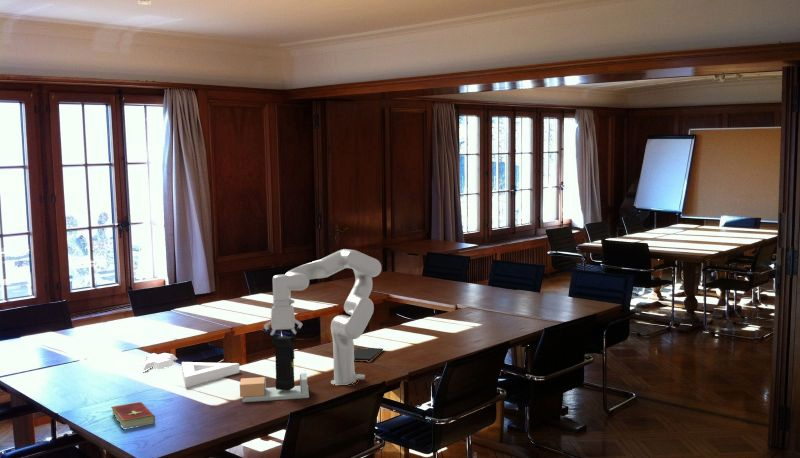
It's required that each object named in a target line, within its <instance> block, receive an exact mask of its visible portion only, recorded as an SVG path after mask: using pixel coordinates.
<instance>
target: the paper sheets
mask: <svg viewBox="0 0 800 458" xmlns="http://www.w3.org/2000/svg"><path fill="white" fill-rule="evenodd" d="M145 359H146V360H145ZM145 359H144V360H143V361H142V363H141V365H140V366H141V367H142V368H143V370H146V369H148V368H151V367H154V368H157V369H161V368H164V367H168V368H170V367H169V366H172V365H174V366H175V361H176V360H178V358H177V357H176V356H175V354H174V353H173V354H172V353H167V352H163V353H159V354H156V353H154V352H153V353H150V354H148V355H147V356H146V357H145ZM173 362H174V363H173ZM172 367H173V366H172Z"/></svg>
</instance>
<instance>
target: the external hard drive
mask: <svg viewBox="0 0 800 458" xmlns="http://www.w3.org/2000/svg"><path fill="white" fill-rule="evenodd" d="M360 348H361V347H360ZM360 348H359V347H358V348H356V349H354V360H368V361H370V360H371V359H373V358H374V357H375V356H376V355H377V354H379V353H380V352H381V351H382V350H383V349H384V348H381V347H380V348H379V347H378V348H377V347H376V348H375V347H367V348H368V349H360Z"/></svg>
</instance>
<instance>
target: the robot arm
mask: <svg viewBox="0 0 800 458" xmlns="http://www.w3.org/2000/svg"><path fill="white" fill-rule="evenodd" d="M344 269H352V271H353V273H354V278H355V281H354V284H353V285H352V286H353V287H352V289H351V290H350V292H349V294H348V296H347V297H346V300H345V302H344V304H343V310H344V311H345V313H346V314H348V315H345V314H340V315H339V314H338V315H336V316H334V318H332V320H331V323H330V334H331V337H332V350H333V351H332V353H333V355H332V356H333V379H334V380H333V379H331V381H330V383H331V384H332V385H334V384H335V385H334V386H338V385H348V384H350V383H352V382H353V383H354V382H356V380H358V381H359V380H365V379H366V375H365V374H362V373H358V374H357V373H356V372H355V362H354V351H355V345H354V344H355V343H354V340H357V339H359V338H360V337H361V336H362V334H363V333H364V331H365V330H366V327H367V326H368V324H369V322H370V320H371V318H372V315H373V314H374V310H375V308H374V307H375V306H374V302H373V301H372V299H370V298H369V297H370V295H371V292H372V290H373V284H374V283H373V278H375V277H377V276H379V275H380V274H381V273H382V264H381V262H380V260H378V259H377V258H374V257H372V256H369V255H368V254H365V253H362V252H360V251H358V250H356V249H349V248H348V249H347V248H343V249H340V250H337V251H335V252H333V253H331V254H329V255H327V256H325V257H323V258H321V259H317V260H314V261H312V262H308V263H305V264H302V265H299V266H297V267H294V268H292V269H290V270H288V271H287V272H286V273H285V274H276V275H273V277H272V296H273V297H272V298H273V306H271V311H270V313H271V315H270V320H269V321H268V322H266V323H265V324H264V325H263V328H264V330H265V331H266V332H267V333H268V334H269V335H270V337H271V339H270V340H271V343H272V345H274V346H275V338H276V337H275V333H276V332H277V331H281V330H283V331H284V330H291V332H292V337H293V344H296V343H295V342H296V341H297V333H298V332H299V331H300V329H301V328H302V326H303V323H302V322H301V321H299V320H297V319H296V317H295V310H294V309H295V308H294V306H293V304H295V299H292V295H291V293H292V291H300V292H301V291H304V290H306V289H307V288H308V287H309V285H310V280H315V279H324V278H329V277H330V276H332V275H334V274H336V273H338V272H340V271H342V270H344ZM349 315H350V316H349ZM295 324H296V325H297V327H296V325H295ZM270 325H271V326H270ZM269 326H270V327H271V329H270V328H269ZM295 327H296V328H295ZM353 383H352V384H353ZM353 385H354V384H353ZM348 386H349V385H348Z"/></svg>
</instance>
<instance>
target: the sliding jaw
mask: <svg viewBox="0 0 800 458" xmlns="http://www.w3.org/2000/svg"><path fill="white" fill-rule="evenodd" d="M266 380H267V377H266V376H261V377H260V376H259V377H247V378H246V377H245V378H244V377H243V378H240V382H239V396H240V397H239V398H243V397H249V396H263V395H266V388H267V381H266Z"/></svg>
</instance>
